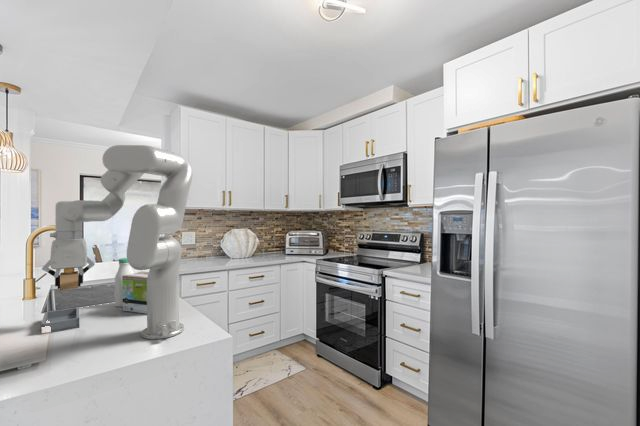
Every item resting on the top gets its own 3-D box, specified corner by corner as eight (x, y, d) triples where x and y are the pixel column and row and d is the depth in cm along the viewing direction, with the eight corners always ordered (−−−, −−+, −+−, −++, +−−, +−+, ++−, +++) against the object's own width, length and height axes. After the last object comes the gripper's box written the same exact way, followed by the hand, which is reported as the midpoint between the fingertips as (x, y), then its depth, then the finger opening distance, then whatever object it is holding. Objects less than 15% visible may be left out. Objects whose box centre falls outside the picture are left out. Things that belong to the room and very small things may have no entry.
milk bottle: (125, 307, 132) (125, 260, 133) (110, 306, 134) (109, 259, 134) (139, 302, 140) (139, 257, 140) (124, 301, 142) (124, 257, 142)
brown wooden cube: (78, 288, 112) (78, 273, 112) (60, 290, 109) (59, 274, 109) (78, 285, 116) (78, 271, 116) (60, 287, 113) (60, 272, 113)
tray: (79, 327, 109) (79, 318, 109) (41, 334, 103) (40, 324, 103) (79, 315, 123) (79, 307, 123) (45, 320, 117) (45, 312, 117)
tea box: (121, 311, 127) (121, 275, 127) (142, 304, 137) (141, 270, 137) (151, 315, 123) (151, 277, 123) (170, 307, 132) (170, 272, 132)
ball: (74, 274, 112) (72, 267, 111) (63, 276, 111) (61, 269, 109) (76, 270, 114) (74, 263, 113) (66, 271, 113) (63, 264, 112)
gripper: (36, 237, 104) (36, 292, 104) (99, 235, 114) (99, 285, 114) (38, 236, 110) (38, 288, 110) (97, 234, 120) (98, 282, 120)
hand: (69, 286), depth 112 cm, fingers closed on brown wooden cube, 5 cm apart
